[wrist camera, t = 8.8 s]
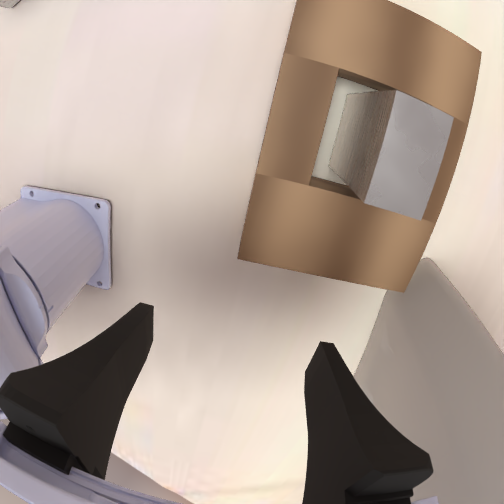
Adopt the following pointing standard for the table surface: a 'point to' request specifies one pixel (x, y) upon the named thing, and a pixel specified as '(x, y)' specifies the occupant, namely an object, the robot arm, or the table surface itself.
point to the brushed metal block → (390, 149)
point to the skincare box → (8, 3)
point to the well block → (311, 130)
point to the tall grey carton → (440, 386)
